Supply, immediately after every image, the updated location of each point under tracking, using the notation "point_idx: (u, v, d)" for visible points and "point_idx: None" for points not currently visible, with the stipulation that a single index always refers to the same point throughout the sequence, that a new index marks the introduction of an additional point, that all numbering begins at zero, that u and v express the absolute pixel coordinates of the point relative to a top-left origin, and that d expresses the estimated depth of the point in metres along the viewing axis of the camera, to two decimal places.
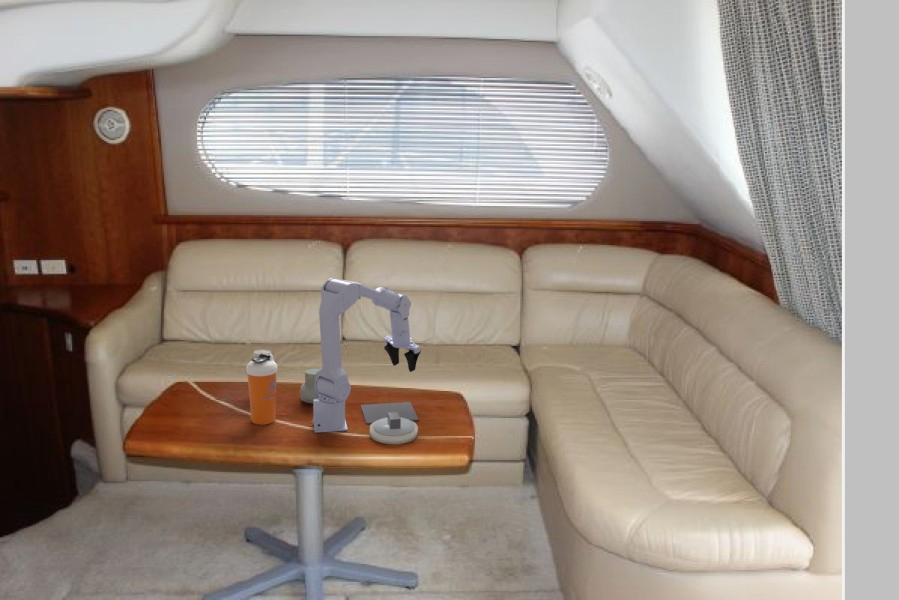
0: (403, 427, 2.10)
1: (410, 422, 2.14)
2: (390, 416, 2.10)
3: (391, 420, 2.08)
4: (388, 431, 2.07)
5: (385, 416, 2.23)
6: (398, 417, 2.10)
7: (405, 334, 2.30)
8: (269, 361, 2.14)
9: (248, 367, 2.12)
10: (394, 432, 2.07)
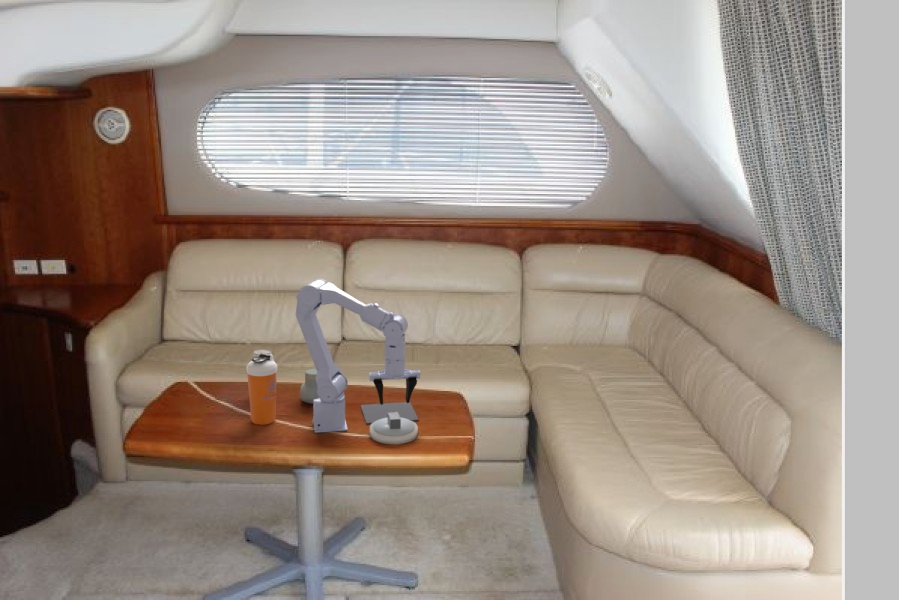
0: (403, 427, 2.10)
1: (410, 422, 2.14)
2: (390, 416, 2.10)
3: (391, 420, 2.08)
4: (388, 431, 2.07)
5: (385, 416, 2.23)
6: (398, 417, 2.10)
7: (385, 360, 2.06)
8: (269, 361, 2.14)
9: (248, 367, 2.12)
10: (394, 432, 2.07)
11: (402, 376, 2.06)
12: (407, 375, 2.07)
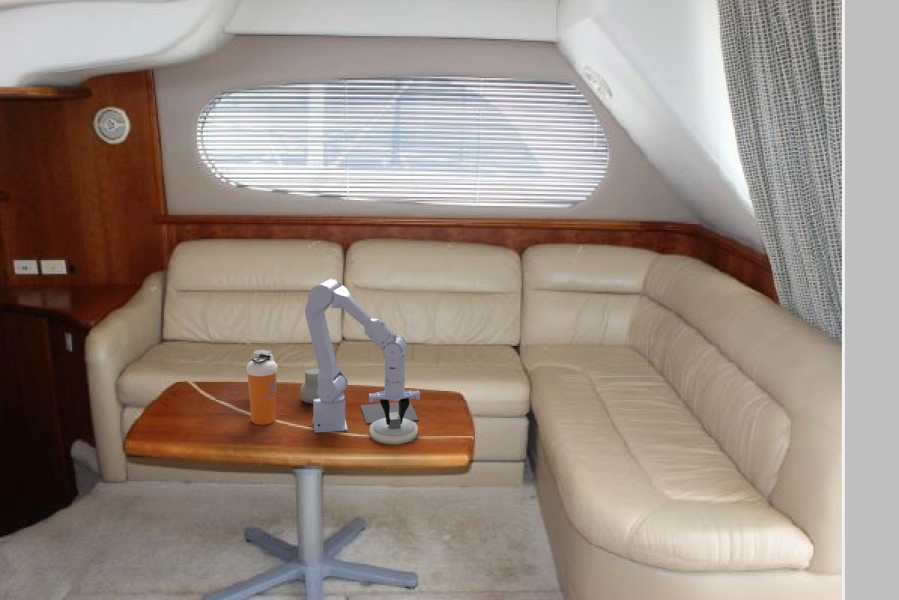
0: (403, 427, 2.10)
1: (410, 422, 2.14)
2: (390, 416, 2.10)
3: (391, 420, 2.08)
4: (388, 431, 2.07)
5: None
6: (398, 417, 2.10)
7: None
8: (269, 361, 2.14)
9: (248, 367, 2.12)
10: (394, 432, 2.07)
11: (402, 397, 2.07)
12: (407, 396, 2.08)
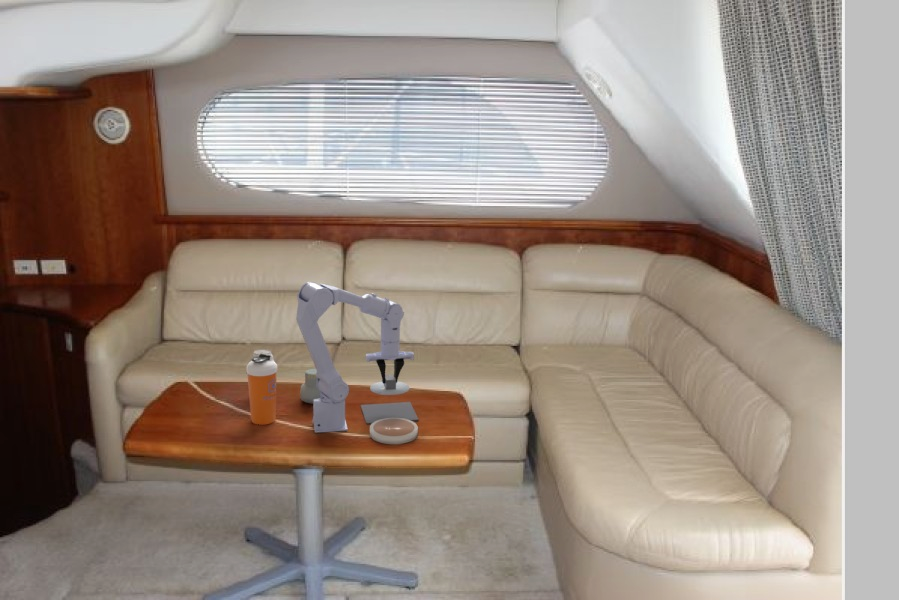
0: (398, 388, 2.22)
1: (405, 384, 2.26)
2: (386, 378, 2.23)
3: (387, 381, 2.20)
4: (384, 391, 2.19)
5: (385, 416, 2.23)
6: (394, 378, 2.22)
7: None
8: (269, 361, 2.14)
9: (248, 367, 2.12)
10: (390, 392, 2.19)
11: (397, 357, 2.20)
12: (401, 356, 2.20)
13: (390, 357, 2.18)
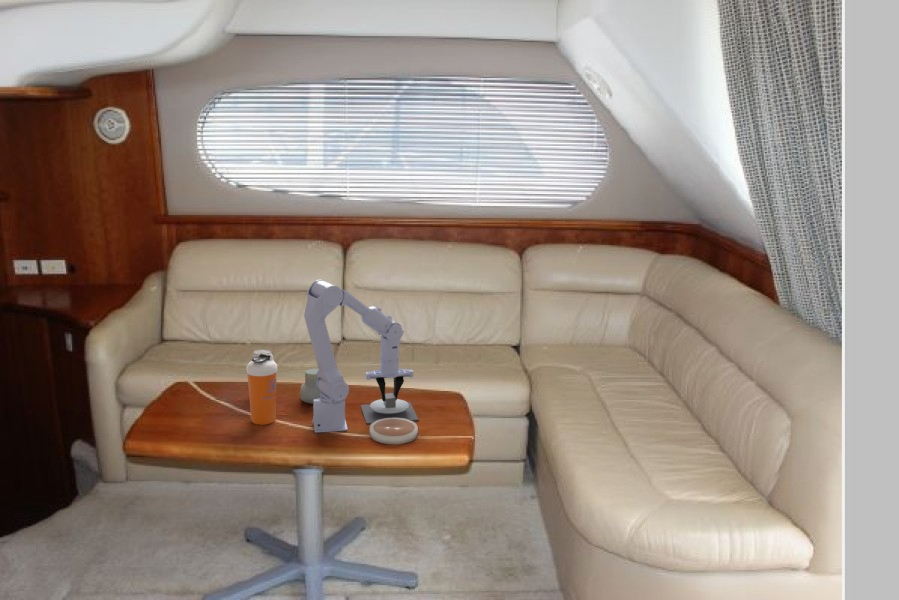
0: (398, 406, 2.24)
1: (405, 402, 2.28)
2: (386, 396, 2.24)
3: (387, 399, 2.22)
4: (384, 409, 2.21)
5: (385, 416, 2.23)
6: (393, 397, 2.24)
7: (380, 360, 2.22)
8: (269, 361, 2.14)
9: (248, 367, 2.12)
10: (389, 410, 2.21)
11: (396, 375, 2.21)
12: (401, 374, 2.22)
13: (390, 375, 2.20)
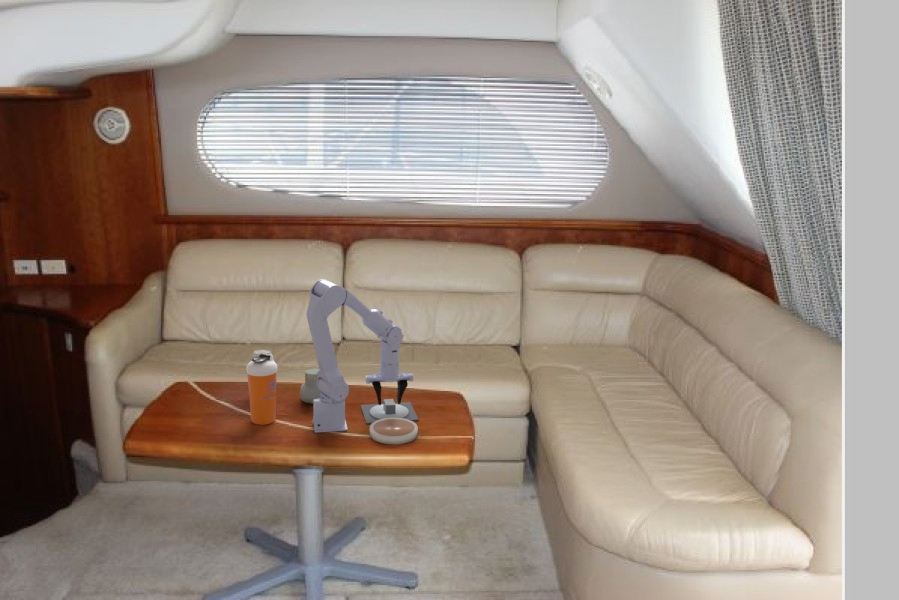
0: (398, 412, 2.25)
1: (404, 408, 2.28)
2: (386, 402, 2.25)
3: (386, 406, 2.23)
4: (384, 416, 2.22)
5: None
6: (393, 403, 2.24)
7: (380, 364, 2.22)
8: (269, 361, 2.14)
9: (248, 367, 2.12)
10: (389, 417, 2.21)
11: (396, 379, 2.22)
12: (401, 378, 2.22)
13: (390, 379, 2.20)
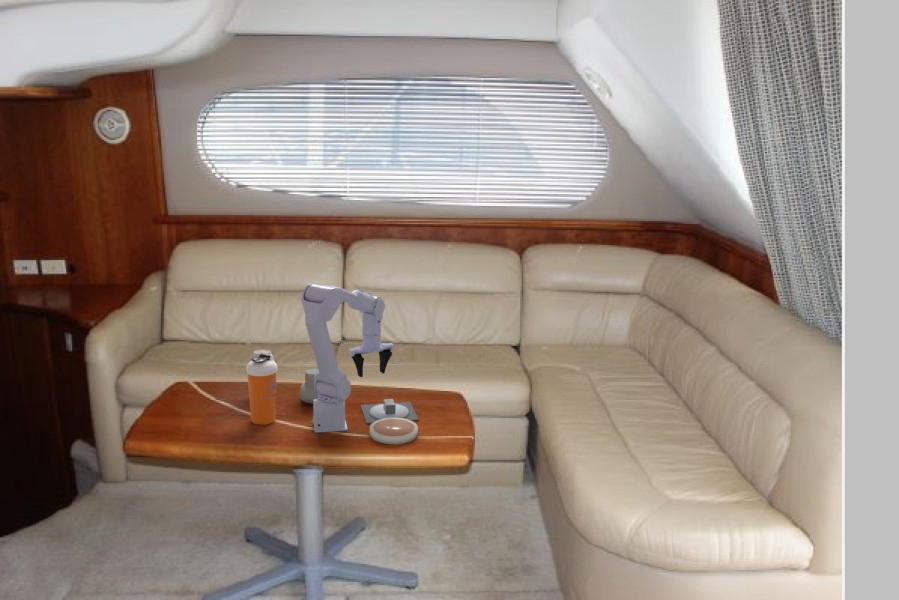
0: (398, 412, 2.25)
1: (404, 408, 2.28)
2: (386, 402, 2.25)
3: (386, 406, 2.23)
4: (384, 416, 2.22)
5: None
6: (393, 403, 2.24)
7: (362, 336, 2.26)
8: (269, 361, 2.14)
9: (248, 367, 2.12)
10: (389, 417, 2.21)
11: (380, 349, 2.26)
12: (383, 348, 2.28)
13: (375, 349, 2.25)
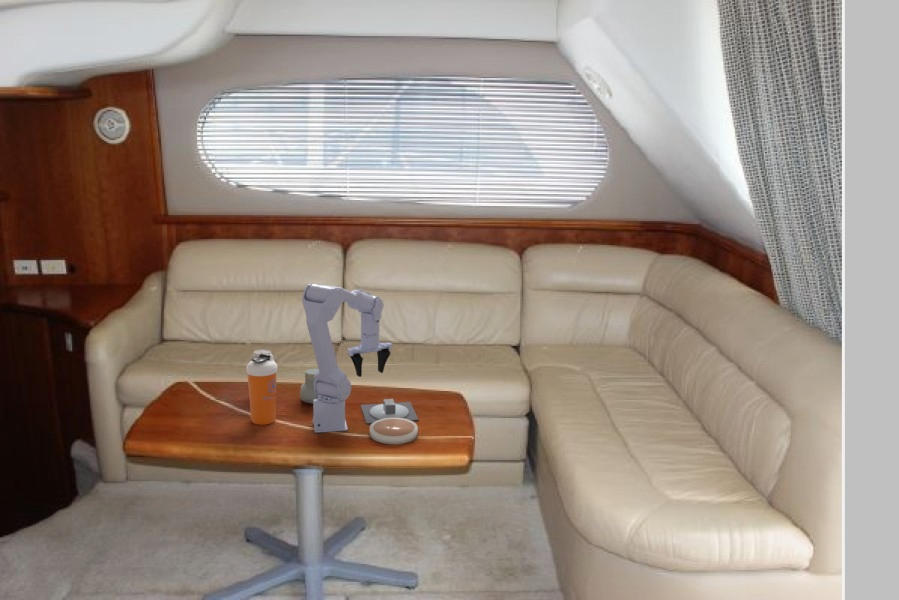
0: (398, 412, 2.25)
1: (404, 408, 2.28)
2: (386, 402, 2.25)
3: (386, 406, 2.23)
4: (384, 416, 2.22)
5: None
6: (393, 403, 2.24)
7: (361, 336, 2.26)
8: (269, 361, 2.14)
9: (248, 367, 2.12)
10: (389, 417, 2.21)
11: (378, 348, 2.27)
12: (382, 347, 2.28)
13: (373, 349, 2.25)
